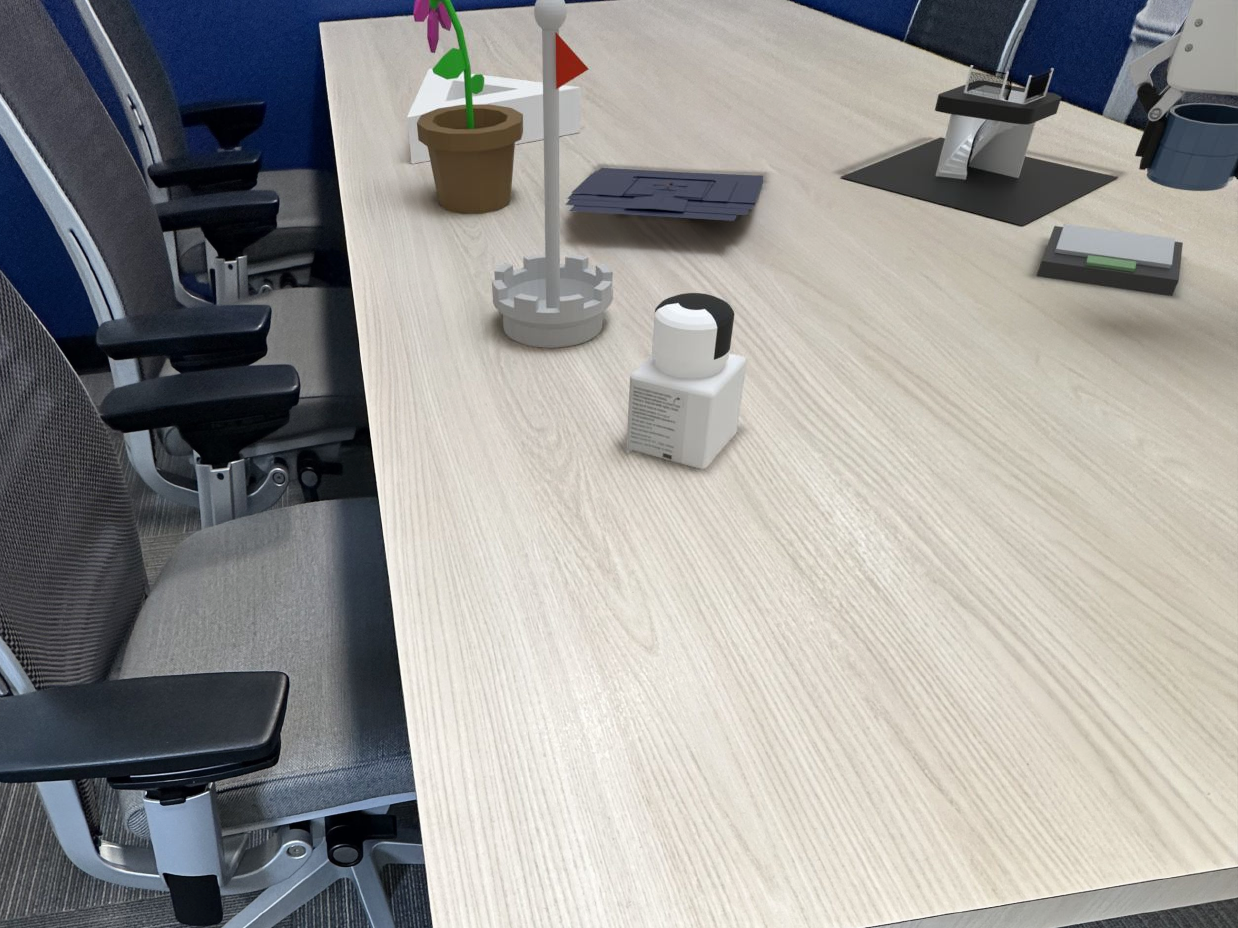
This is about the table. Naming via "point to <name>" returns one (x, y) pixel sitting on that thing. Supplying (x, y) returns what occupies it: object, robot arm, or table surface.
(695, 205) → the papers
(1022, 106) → the black-topped pedestal
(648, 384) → the container
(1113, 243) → the scale
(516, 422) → the table surface
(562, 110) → the triangle block
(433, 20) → the flowerpot
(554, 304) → the flag stand
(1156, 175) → the blue cup
